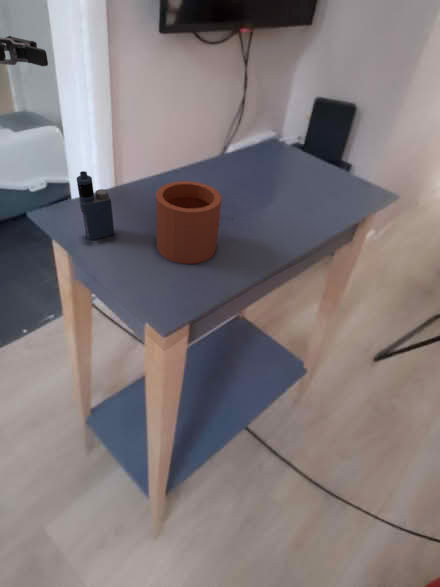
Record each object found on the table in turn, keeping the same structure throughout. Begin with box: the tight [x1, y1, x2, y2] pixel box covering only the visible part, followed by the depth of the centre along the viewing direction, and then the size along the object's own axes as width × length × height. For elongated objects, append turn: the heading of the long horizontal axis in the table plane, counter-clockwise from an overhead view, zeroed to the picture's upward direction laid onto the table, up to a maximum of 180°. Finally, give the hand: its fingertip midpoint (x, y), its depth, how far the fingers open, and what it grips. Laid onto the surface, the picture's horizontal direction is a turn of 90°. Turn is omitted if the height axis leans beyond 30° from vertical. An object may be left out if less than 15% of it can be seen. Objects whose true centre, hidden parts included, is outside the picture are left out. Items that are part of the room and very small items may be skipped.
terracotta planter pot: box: [155, 180, 222, 265], centre depth 67 cm, size 11×11×10 cm
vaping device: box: [76, 170, 115, 241], centre depth 67 cm, size 3×5×12 cm, turn 125°
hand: (22, 62), depth 57 cm, fingers open, 8 cm apart
